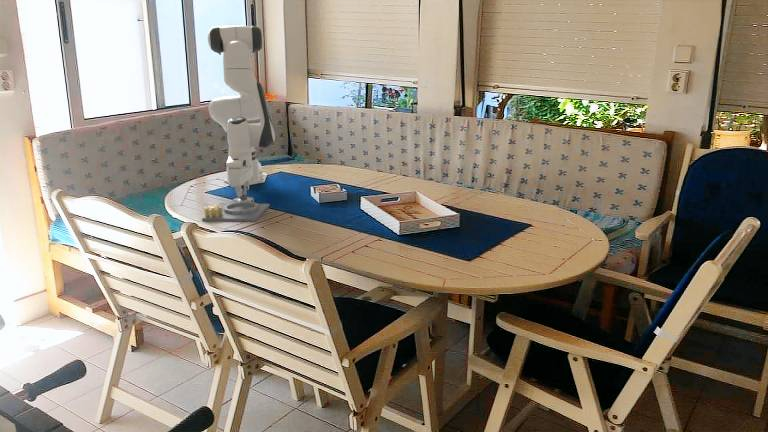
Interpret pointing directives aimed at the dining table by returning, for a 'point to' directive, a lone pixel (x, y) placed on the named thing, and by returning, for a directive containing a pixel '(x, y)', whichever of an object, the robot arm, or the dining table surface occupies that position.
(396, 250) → the dining table surface
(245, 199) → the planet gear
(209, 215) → the carrier board
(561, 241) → the dining table surface
